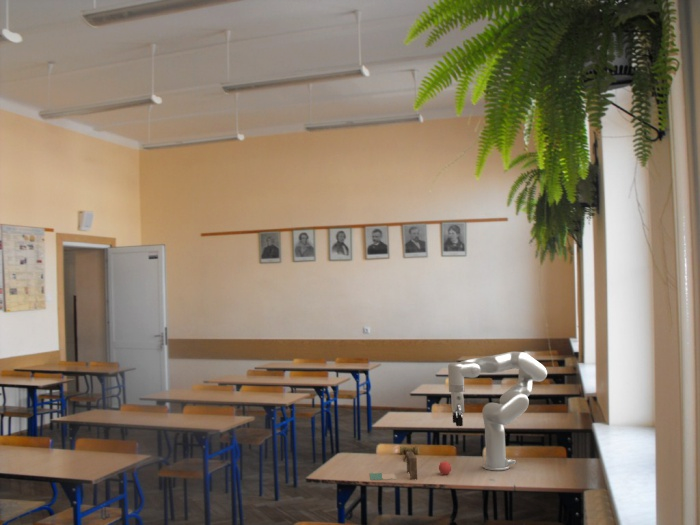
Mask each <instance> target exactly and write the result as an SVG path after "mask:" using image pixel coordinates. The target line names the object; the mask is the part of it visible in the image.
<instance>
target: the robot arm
mask: <svg viewBox="0 0 700 525" xmlns="http://www.w3.org/2000/svg"><path fill="white" fill-rule="evenodd" d="M514 369H515V370H517V369H518V379H517V382H516V383H515V384H514V385H512V386H511V387H510V388H508V390H506V391H504V393H503V394H502V395H501V396H500V398H499V403H497V402H488V403H486V404H485V405H484V406H483V407H482V414H481V415H482V419H483V423H484V425H483V426H484V434H485V435H484V438H485V439H484V442H485V443H484V444H485V462H486V463H484V464H483V465H482V467H483V468H484V470H489V471H506V470H509V469H510V464H511V465H513V464H514V465H515V464H517V462H516V459H511V458H510V459H508V458H507V455H506V454H507V452H506V432H505V426H507V425H510V424H511V423H512V422H514V421H516V419H517V418H520V416H522V415H523V414H524V413H525V412H526V411H527V409H528V407H529V406H530V405H529V404H530V400H529V398H528V397H529V396H530V395H531V394H532V392H533V382H543V381H544V380H546V378H547V376H548V371H547V369H546V367H545V366H544V365H543V364H542V363H540V362H539V361H538V360H536V359H535V358H533V357H532V356H531V355H529V353H526V352H523V351H509V352H504V353H499V354H494V355H488V356H483V357H475V358H470V359H466V360H462V361H460V362H450V363H449V364H448V367H447V370H448V372H447V374H448V376H447V377H448V392H449V393H450V396H451V397H450V402H451V404H450V406H451V410H452V423H453V424H455V427H463V426H464V421H463V420H464V419H463V414H464V413H465V404H464V403H465V402H464V401H465V400H464V399H465V398H464V393H465V378H470V379H473V378H474V379H475V378H478V376H480V374H481V373H482V374H483V373H487V374H494V373H500V372H504V371H508V370H509V371H510V370H514Z"/></svg>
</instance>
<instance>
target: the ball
mask: <svg viewBox="0 0 700 525" xmlns="http://www.w3.org/2000/svg"><path fill="white" fill-rule="evenodd" d="M438 471H439V472H440V474H442V475H449V474H450V473H451V472H452V465H451V463H449V461H445V460H444V461H441V462H440V463H439V464H438Z"/></svg>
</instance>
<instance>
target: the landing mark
mask: <svg viewBox="0 0 700 525" xmlns="http://www.w3.org/2000/svg"><path fill="white" fill-rule="evenodd" d="M382 473H383V472H379V473H378V472H377V473H369V477H370V481H383V480H382V479H383V478H382Z"/></svg>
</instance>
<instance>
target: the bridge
mask: <svg viewBox="0 0 700 525" xmlns="http://www.w3.org/2000/svg"><path fill="white" fill-rule="evenodd" d="M405 455H406V456H407V461H406V473H408V472H409V473H408V474H409V476H410V477H409V478H410V480H411V481H413V480H414V481H415V479H416V480H418V463H417V461H418V460H417V456H416V455H415V454H414V453H413V452H412V451H411V452H406V454H405Z"/></svg>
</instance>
